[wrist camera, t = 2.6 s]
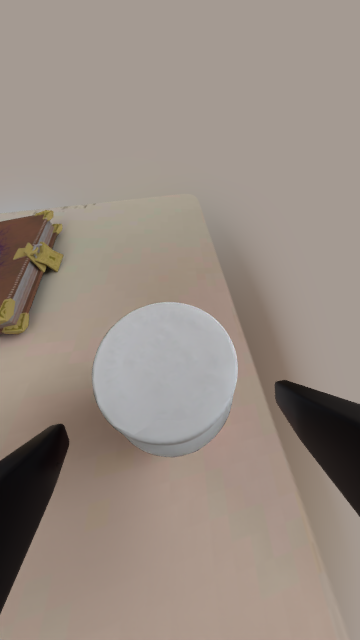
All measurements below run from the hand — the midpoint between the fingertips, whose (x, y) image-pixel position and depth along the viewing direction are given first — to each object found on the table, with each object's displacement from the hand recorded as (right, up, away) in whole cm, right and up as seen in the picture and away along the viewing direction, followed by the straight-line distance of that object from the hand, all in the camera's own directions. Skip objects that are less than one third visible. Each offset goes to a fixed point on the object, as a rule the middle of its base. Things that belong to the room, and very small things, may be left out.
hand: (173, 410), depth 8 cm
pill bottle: (0, -4, +8) cm, 9 cm away
